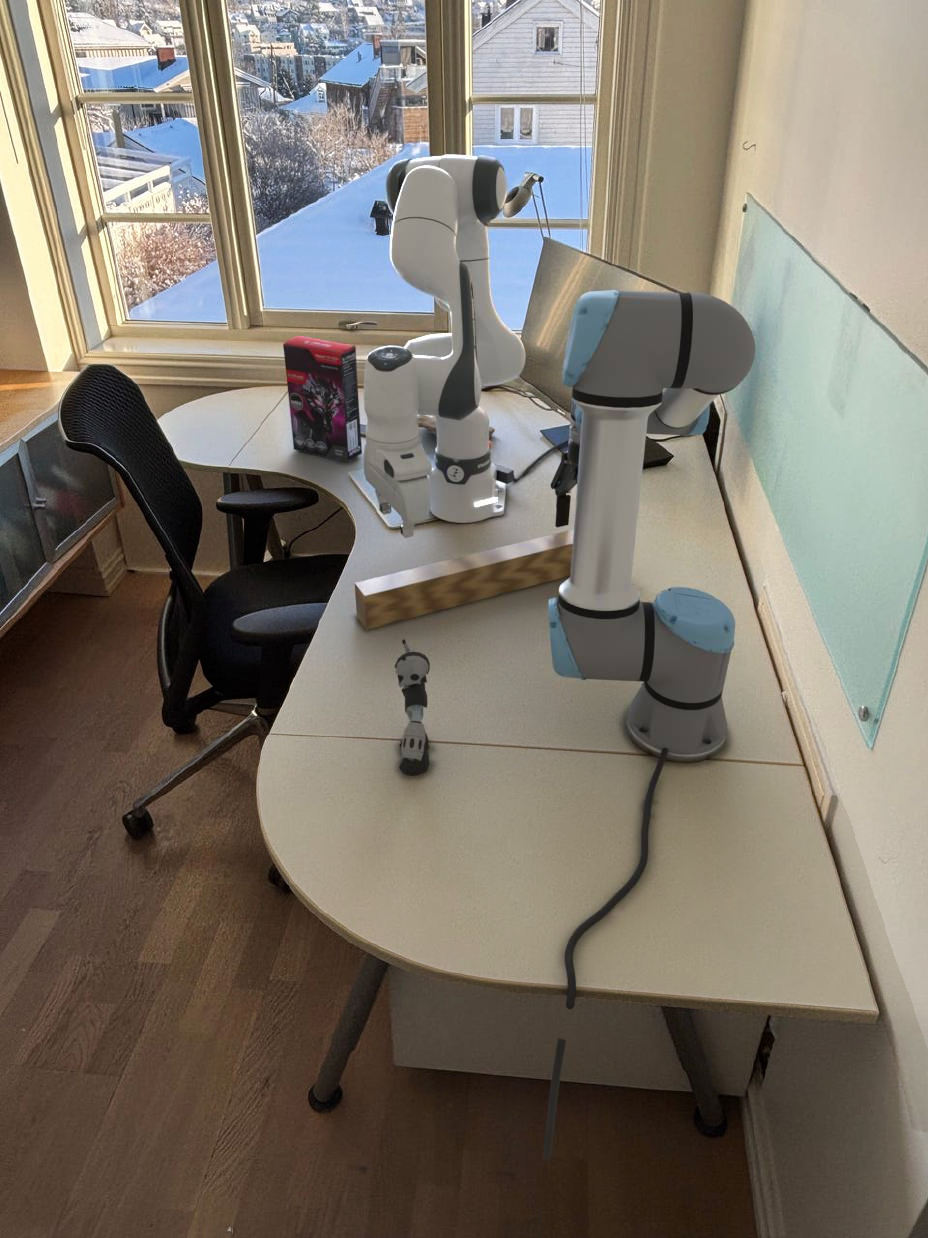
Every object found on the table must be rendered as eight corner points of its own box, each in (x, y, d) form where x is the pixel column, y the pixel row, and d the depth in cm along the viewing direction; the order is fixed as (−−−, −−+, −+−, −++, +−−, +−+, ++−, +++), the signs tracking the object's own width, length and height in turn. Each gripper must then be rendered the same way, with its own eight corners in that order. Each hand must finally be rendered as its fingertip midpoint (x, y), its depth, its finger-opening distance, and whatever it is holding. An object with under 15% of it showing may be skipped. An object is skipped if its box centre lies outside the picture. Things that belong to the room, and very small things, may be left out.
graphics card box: (291, 450, 230) (280, 341, 215) (307, 440, 235) (297, 333, 220) (348, 464, 224) (341, 353, 209) (364, 454, 229) (358, 344, 214)
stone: (398, 433, 232) (403, 409, 229) (417, 425, 245) (422, 402, 243) (477, 457, 228) (483, 433, 226) (491, 447, 242) (497, 425, 239)
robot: (432, 803, 130) (430, 691, 118) (397, 804, 129) (392, 692, 118) (430, 713, 146) (428, 607, 135) (399, 714, 146) (394, 608, 134)
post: (601, 552, 189) (604, 521, 185) (615, 563, 186) (618, 531, 181) (356, 616, 169) (354, 582, 165) (366, 630, 165) (364, 595, 161)
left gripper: (352, 430, 158) (357, 502, 166) (399, 476, 143) (402, 553, 151) (386, 424, 161) (389, 495, 168) (436, 469, 146) (437, 545, 153)
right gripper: (537, 419, 177) (531, 517, 189) (610, 469, 159) (599, 574, 171) (570, 412, 180) (562, 509, 192) (646, 461, 162) (632, 565, 174)
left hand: (396, 523), depth 160 cm, fingers open, 8 cm apart
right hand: (580, 540), depth 181 cm, fingers open, 13 cm apart
